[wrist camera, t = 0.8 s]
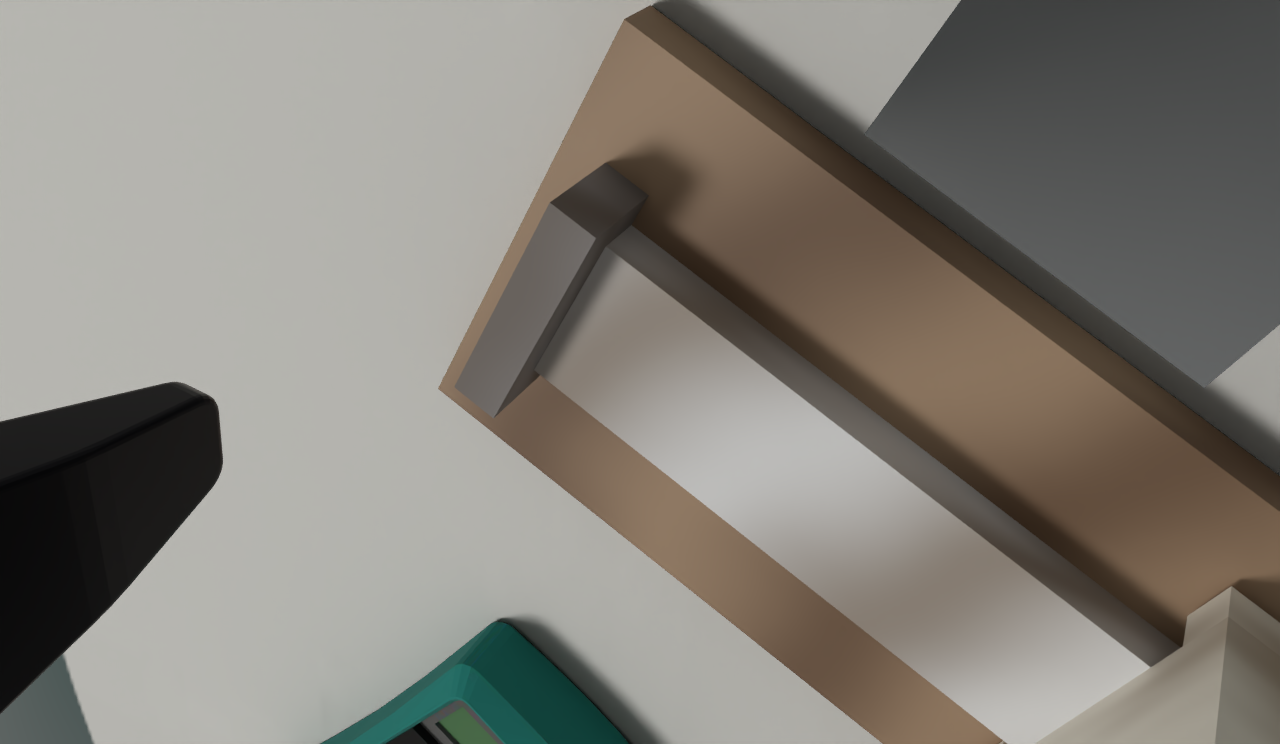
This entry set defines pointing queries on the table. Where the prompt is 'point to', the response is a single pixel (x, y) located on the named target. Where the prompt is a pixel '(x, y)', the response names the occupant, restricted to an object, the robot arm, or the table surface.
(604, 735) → the digital multimeter
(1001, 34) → the block
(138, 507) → the robot arm
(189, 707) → the table surface
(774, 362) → the din panel
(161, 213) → the table surface
